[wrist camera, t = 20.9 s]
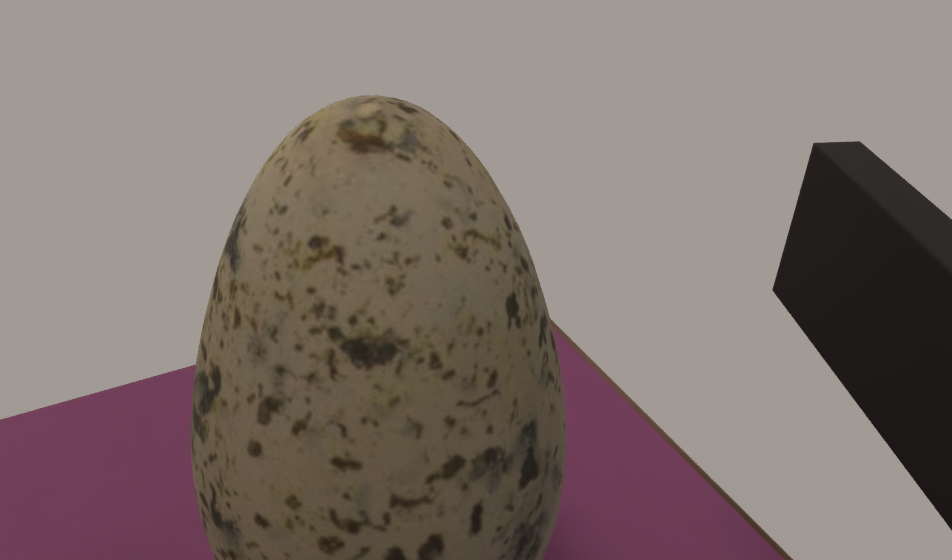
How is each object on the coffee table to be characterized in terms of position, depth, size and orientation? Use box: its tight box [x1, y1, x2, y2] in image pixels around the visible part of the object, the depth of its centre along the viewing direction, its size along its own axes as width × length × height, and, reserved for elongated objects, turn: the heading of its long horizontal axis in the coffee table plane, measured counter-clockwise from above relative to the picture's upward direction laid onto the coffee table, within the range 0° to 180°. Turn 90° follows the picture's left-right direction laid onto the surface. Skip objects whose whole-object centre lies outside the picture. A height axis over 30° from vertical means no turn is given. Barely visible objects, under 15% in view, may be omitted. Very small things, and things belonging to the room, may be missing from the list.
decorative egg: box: [191, 95, 566, 560], centre depth 14 cm, size 6×6×10 cm
